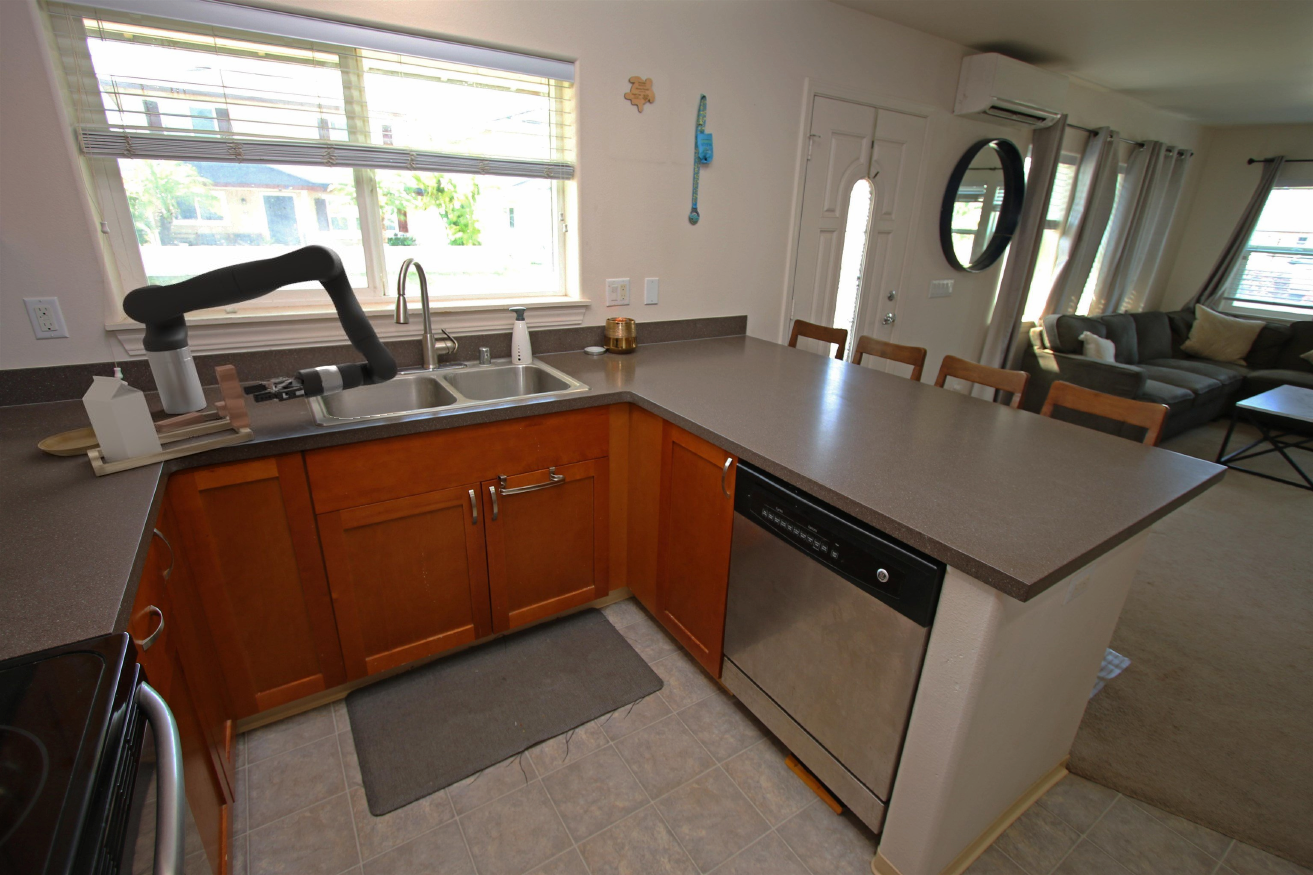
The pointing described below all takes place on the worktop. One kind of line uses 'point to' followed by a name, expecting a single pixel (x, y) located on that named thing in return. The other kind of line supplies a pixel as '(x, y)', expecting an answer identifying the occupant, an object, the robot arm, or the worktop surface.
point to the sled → (193, 430)
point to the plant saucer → (71, 442)
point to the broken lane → (192, 420)
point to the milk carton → (120, 419)
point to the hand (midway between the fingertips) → (248, 394)
